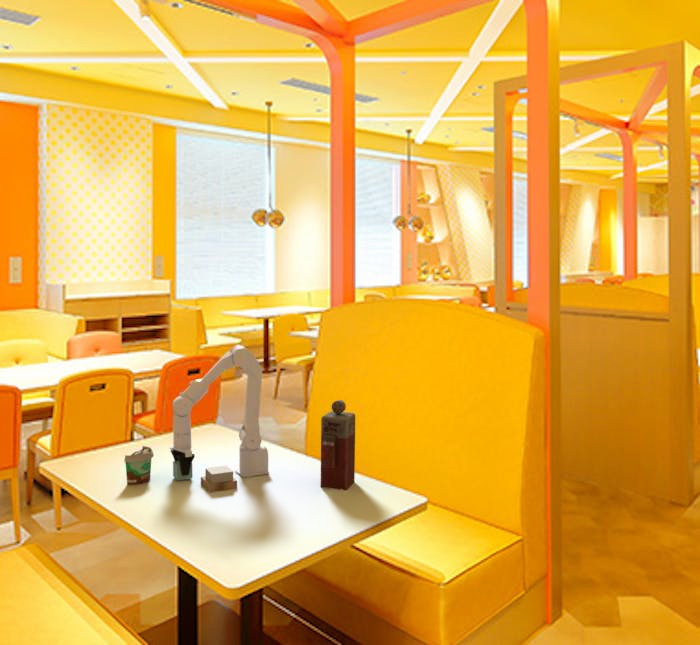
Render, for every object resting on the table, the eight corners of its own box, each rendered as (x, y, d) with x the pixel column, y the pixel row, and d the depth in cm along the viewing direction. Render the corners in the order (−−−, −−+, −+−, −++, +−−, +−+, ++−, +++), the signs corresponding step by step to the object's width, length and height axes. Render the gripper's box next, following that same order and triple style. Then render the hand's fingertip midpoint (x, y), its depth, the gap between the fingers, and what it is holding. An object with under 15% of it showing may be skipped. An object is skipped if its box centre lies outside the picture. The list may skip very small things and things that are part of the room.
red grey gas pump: (317, 489, 218) (318, 403, 215) (329, 478, 228) (330, 396, 226) (344, 492, 215) (345, 405, 212) (354, 481, 226) (355, 398, 223)
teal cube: (187, 473, 229) (187, 459, 229) (192, 477, 225) (192, 463, 225) (173, 476, 227) (173, 461, 226) (177, 480, 223) (177, 465, 222)
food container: (142, 487, 217) (141, 457, 216) (124, 486, 218) (124, 455, 217) (160, 475, 229) (160, 446, 228) (143, 474, 230) (143, 445, 229)
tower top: (226, 474, 224) (226, 465, 223) (233, 480, 217) (233, 471, 217) (205, 477, 220) (205, 468, 220) (211, 483, 214) (211, 474, 214)
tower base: (227, 481, 225) (227, 473, 225) (237, 489, 218) (237, 480, 217) (200, 486, 221) (200, 477, 221) (210, 494, 213) (210, 485, 213)
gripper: (164, 429, 229) (164, 468, 230) (176, 439, 216) (177, 480, 218) (184, 426, 232) (185, 465, 234) (198, 436, 220) (198, 477, 221)
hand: (182, 472), depth 226 cm, fingers closed on teal cube, 5 cm apart
